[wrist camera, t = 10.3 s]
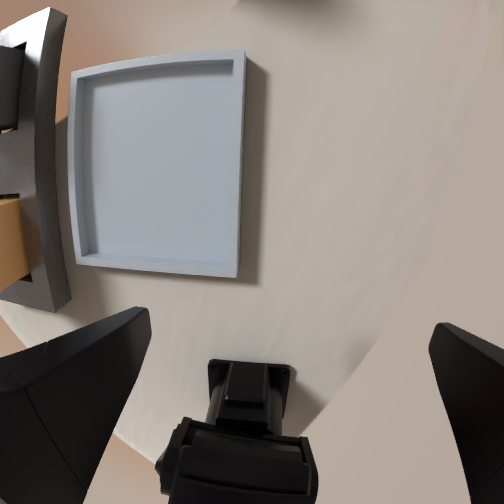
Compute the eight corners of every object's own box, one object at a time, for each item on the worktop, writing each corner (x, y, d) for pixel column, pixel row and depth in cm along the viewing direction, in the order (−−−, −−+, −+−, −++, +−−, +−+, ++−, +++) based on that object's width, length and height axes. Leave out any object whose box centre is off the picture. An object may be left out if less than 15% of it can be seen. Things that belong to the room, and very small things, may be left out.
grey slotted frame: (71, 299, 23) (55, 312, 21) (7, 286, 24) (-8, 297, 22) (67, 15, 16) (50, 7, 13) (-1, 45, 16) (-18, 42, 14)
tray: (239, 269, 21) (236, 277, 20) (86, 257, 22) (76, 264, 21) (246, 57, 17) (244, 50, 15) (82, 74, 17) (71, 71, 16)
